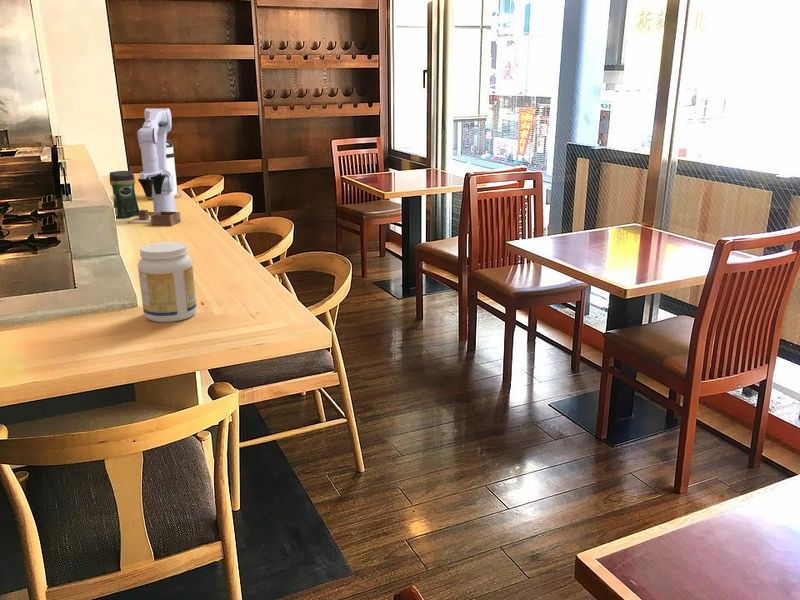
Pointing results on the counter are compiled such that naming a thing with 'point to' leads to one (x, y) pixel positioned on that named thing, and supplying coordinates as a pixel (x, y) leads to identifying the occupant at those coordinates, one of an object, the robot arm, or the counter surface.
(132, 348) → the counter surface
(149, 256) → the supplement tub
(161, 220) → the box
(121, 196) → the coffee jar
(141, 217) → the lid
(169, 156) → the coffee press
